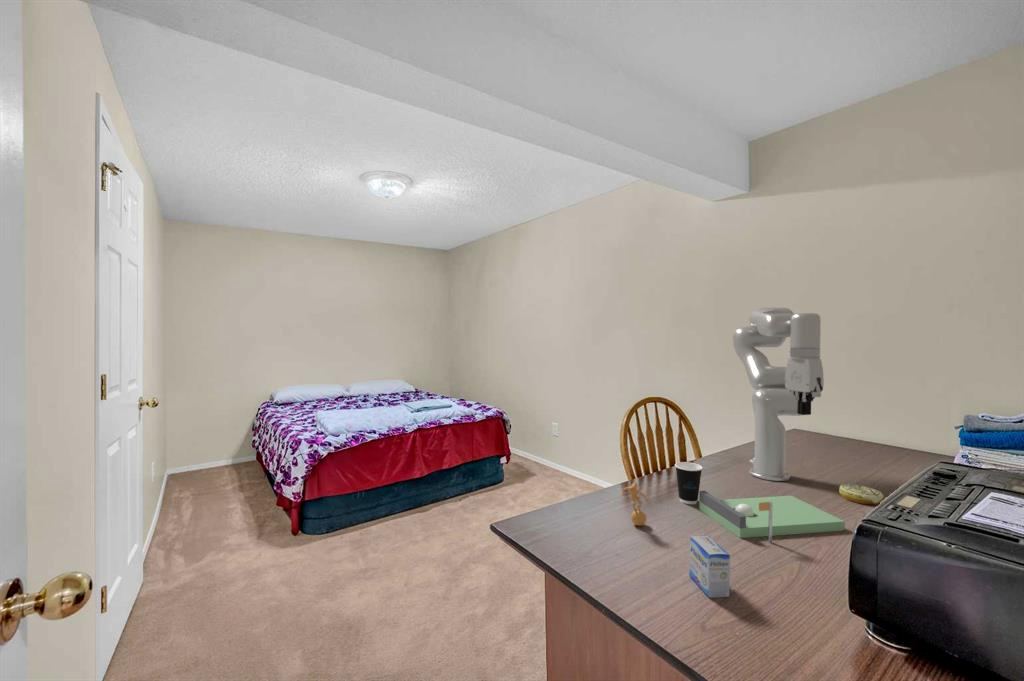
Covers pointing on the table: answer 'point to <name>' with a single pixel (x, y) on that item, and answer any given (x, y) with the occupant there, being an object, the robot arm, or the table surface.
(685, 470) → the dixie cup
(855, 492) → the decorated donut
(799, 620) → the table surface
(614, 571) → the table surface
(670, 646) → the table surface
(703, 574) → the medicine box
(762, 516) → the mat
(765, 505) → the flag pin
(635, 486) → the figurine
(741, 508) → the ball
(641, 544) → the table surface
